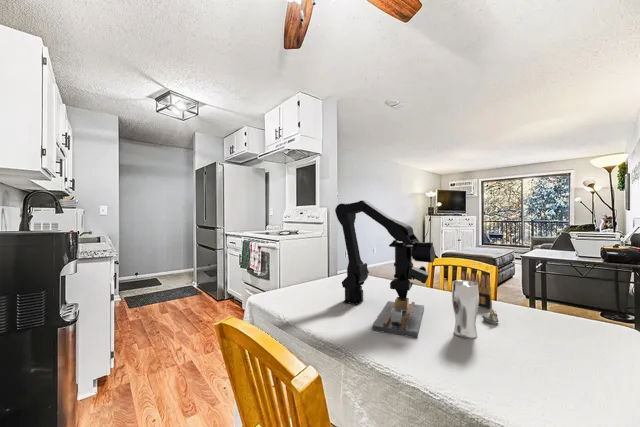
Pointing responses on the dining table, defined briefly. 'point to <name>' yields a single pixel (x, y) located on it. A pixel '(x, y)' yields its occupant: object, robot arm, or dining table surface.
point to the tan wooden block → (402, 303)
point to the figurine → (490, 316)
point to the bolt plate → (406, 326)
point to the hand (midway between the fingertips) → (403, 303)
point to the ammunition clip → (486, 290)
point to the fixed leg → (396, 315)
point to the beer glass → (465, 308)
